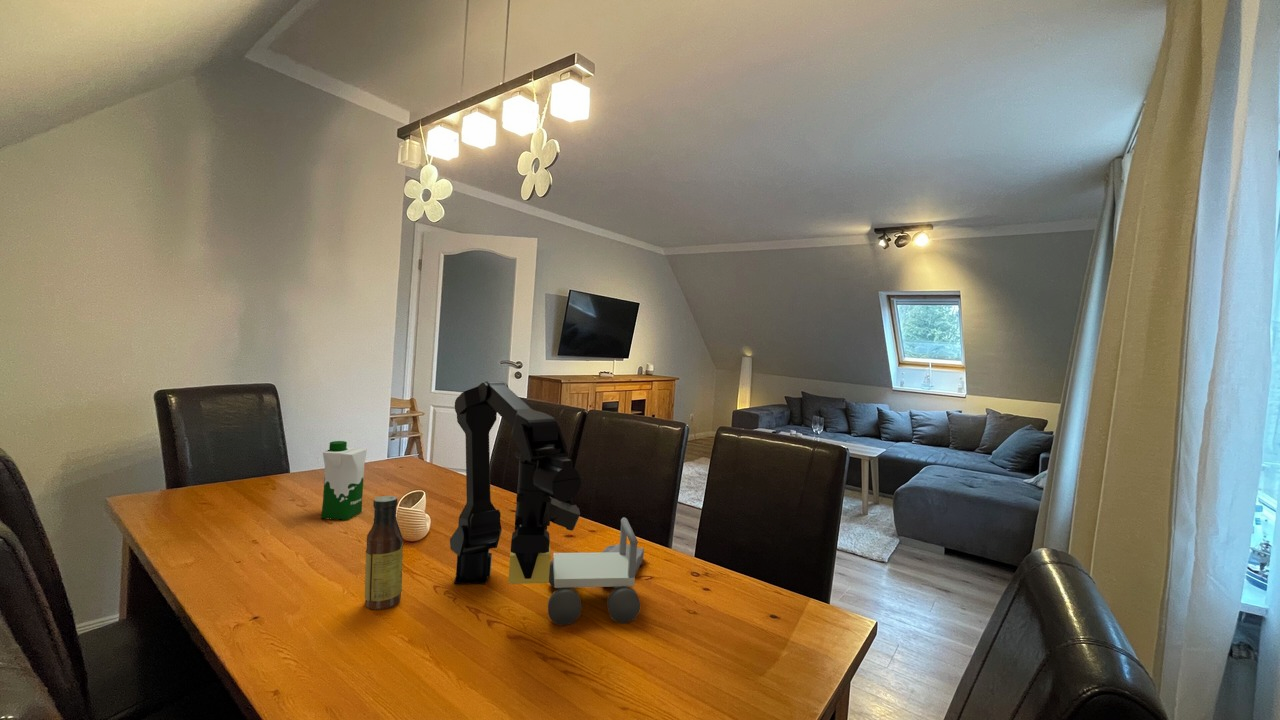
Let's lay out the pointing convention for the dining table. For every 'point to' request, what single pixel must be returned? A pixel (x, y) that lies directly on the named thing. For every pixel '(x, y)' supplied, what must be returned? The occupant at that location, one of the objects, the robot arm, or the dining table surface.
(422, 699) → the dining table surface
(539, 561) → the chock
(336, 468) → the milk carton
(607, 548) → the stone block
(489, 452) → the robot arm
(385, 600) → the sauce bottle
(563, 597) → the trolley
